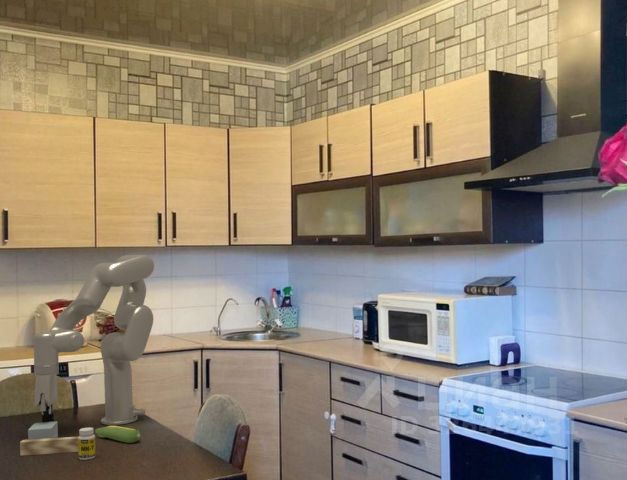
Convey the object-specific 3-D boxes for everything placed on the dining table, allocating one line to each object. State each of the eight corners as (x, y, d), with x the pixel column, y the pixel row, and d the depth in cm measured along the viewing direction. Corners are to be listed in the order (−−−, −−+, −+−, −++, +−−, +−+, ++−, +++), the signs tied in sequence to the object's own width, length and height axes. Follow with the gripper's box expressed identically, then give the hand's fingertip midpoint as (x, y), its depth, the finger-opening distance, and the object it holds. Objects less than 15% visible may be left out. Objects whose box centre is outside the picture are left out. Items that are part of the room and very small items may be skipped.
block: (58, 439, 222) (57, 421, 222) (52, 447, 213) (51, 428, 213) (35, 441, 221) (34, 422, 221) (28, 449, 212) (27, 430, 212)
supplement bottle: (79, 461, 198) (78, 432, 198) (77, 457, 202) (76, 428, 202) (96, 458, 200) (96, 429, 200) (94, 454, 204) (93, 426, 204)
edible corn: (132, 446, 212) (132, 431, 212) (91, 438, 223) (90, 424, 223) (145, 442, 216) (144, 427, 216) (104, 434, 228) (103, 420, 228)
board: (90, 448, 210) (90, 435, 210) (88, 451, 208) (88, 438, 208) (23, 453, 208) (22, 440, 208) (20, 455, 205) (20, 442, 205)
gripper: (41, 366, 231) (43, 421, 231) (27, 374, 216) (29, 432, 216) (64, 365, 232) (65, 419, 231) (51, 373, 217) (53, 431, 216)
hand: (48, 425), depth 223 cm, fingers closed
